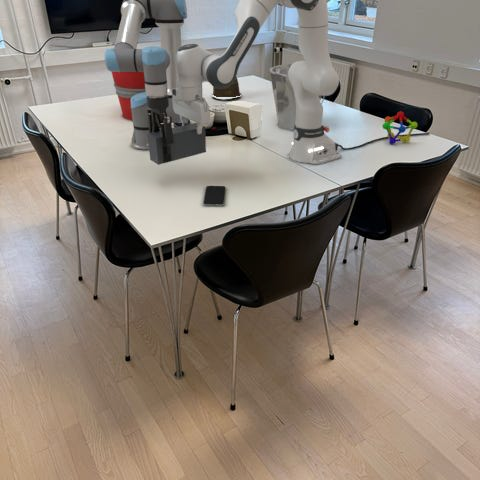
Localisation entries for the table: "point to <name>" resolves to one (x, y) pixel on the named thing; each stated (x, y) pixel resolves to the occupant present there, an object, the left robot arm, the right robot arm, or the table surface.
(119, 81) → the bucket
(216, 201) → the smartphone
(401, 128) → the educational toy
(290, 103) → the bucket
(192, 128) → the box
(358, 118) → the table surface
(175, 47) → the left robot arm
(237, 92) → the bell
